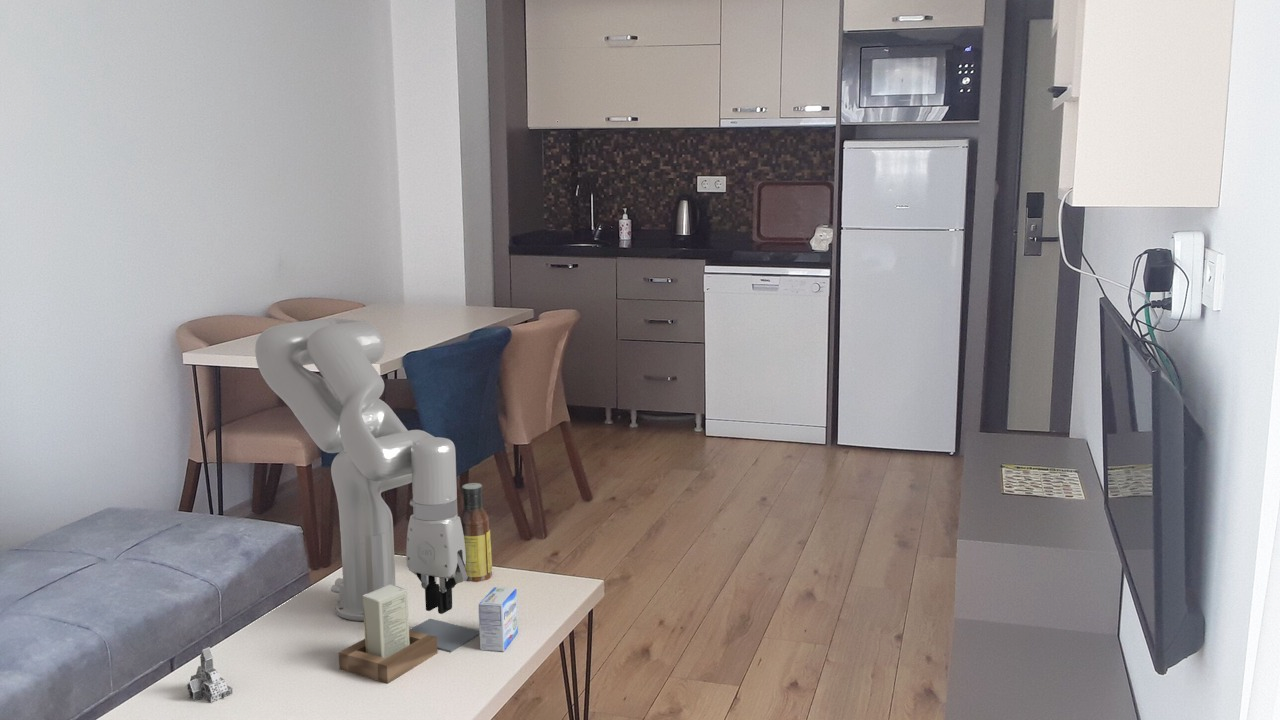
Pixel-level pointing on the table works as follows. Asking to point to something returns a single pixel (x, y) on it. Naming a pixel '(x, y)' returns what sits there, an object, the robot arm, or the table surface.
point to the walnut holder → (394, 665)
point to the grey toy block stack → (208, 681)
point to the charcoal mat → (446, 634)
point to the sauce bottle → (476, 534)
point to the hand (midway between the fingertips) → (439, 609)
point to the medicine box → (498, 619)
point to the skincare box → (386, 621)
